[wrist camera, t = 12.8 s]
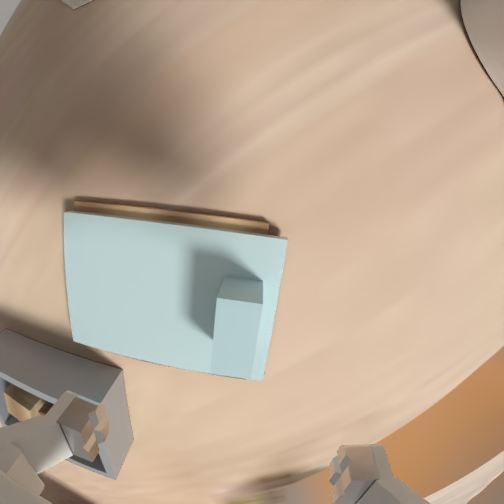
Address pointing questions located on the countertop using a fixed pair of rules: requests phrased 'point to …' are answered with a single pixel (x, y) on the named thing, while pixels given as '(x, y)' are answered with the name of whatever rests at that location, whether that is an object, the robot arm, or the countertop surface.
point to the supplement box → (75, 3)
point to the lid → (173, 291)
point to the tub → (75, 380)
